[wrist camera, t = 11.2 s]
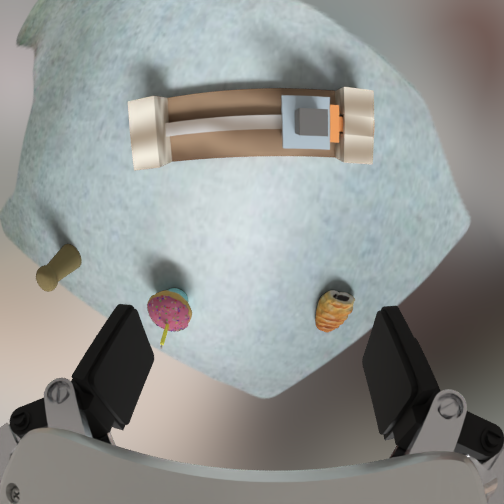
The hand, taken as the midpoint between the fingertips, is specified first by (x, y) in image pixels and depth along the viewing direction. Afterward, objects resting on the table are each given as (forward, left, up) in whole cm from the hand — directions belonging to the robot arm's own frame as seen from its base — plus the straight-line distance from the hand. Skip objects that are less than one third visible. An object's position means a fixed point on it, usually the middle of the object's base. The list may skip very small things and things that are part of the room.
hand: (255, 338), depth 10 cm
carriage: (-8, +5, -32) cm, 33 cm away
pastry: (+25, +12, -34) cm, 44 cm away
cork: (+14, -42, -34) cm, 56 cm away
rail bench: (-8, -2, -33) cm, 34 cm away
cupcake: (+23, -18, -34) cm, 45 cm away
